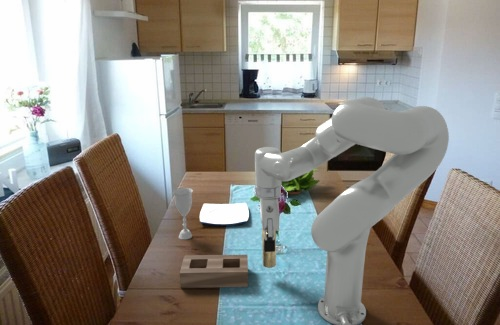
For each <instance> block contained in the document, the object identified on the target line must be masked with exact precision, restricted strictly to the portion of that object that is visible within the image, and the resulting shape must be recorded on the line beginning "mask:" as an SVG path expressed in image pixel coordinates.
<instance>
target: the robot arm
mask: <svg viewBox="0 0 500 325" xmlns="http://www.w3.org/2000/svg"><path fill="white" fill-rule="evenodd" d="M449 138H450V136H449V129H448V125H447V122H446V120H445V118H444V116H443V115H442V113H440V111H438V109H435V108H434V107H431V106H426V105H419V106H418V105H417V106H413V107H411V108H407V109H404V110H401V111H398V110H392V109H386V107H385V105H384V104H383V103H382V102H381V101H380V100H379V99H376V98H374V97H369V96H365V97H364V96H362V97H360V98H355V99H351V100H347V101H344V102H342V103H340V104H339V105H338V106H337V107H336V108H335V109H334V111H333V113H332V115H331V117H330V118H328V119H327V120H326V121H324V122H323V123H321V124H320V125H318V126H317V128H316V130H315V136H314V137H313V138H311V139H310V140H309V141H307V142H306V143H304V144H302V145H301V146H299V147H296V148H294V149H290V150H288V151H285V152H281V150H280V149H279V148H277V147H275V146H274V147H273V146H263V147H260V148H257V149H256V150H255V152H254V179H255V180H254V184H255V186H254V187H255V191H254V192H255V198H256V197H257V199H259V210H260V212H259V213H260V220H261V227H262V228H263V231H265V239H264V251H265V252H275V239H274V229H275V231H277V232H279V231H280V207H279V206H280V204H279V198H280V197H281V196H282V193H281V181H290V180H292V179H294V178H297V177H298V176H301V175H303V174H306V173H308V172H310V171H312V170H314V169H315V168H316V169H318V167H320V166H322V165H324V164H326V162H329V161H331V159H333V158H337V156H339V155H340V154H342V153H344V152H345V151H347V150H348V149H350V148H351V147H354V146H355V145H357V146H359V145H360V146H362V147H365V148H370V149H373V150H378V151H382V152H385V153H388V154H393V155H392V156H391V157H390V158H389V159H387V160H386V161H385V163H384V164H382V165H381V166H380V167H379V168H378V169H377V170H376V171H374V172H373V173H371V175H369V176H367V177H365V178H364V179H361V180H359V181H358V182H356V183H354V184H353V185H351V186H349V187H347V188H346V189H345V190H344V191H342V192H341V193H340V194H339V195H338V196H337V197H336V198H335V199H333V201H331V202H330V203H329V204H328V205H327V206H326V207H325V208H324V209H323V210H322V211H320V213H319V214H318V215H316V217H314V219H313V222H312V224H311V228H310V232H311V234H310V235H311V239H312V240H313V242H314V244H315V246H317V247H318V248H319V249H321V250H323V251H324V252H326V260H325V261H326V263H325V264H326V265H325V278H324V279H325V281H324V295H323V297H322V298H320V299H319V300H318V303H317V311H318V313H319V315H320V317H321V318H323V319H324V320H325V321H326V322H328V323H330V324H333V325H360V324H361V323H363V322H364V320H365V319H366V316H367V309H366V307H365V305H364V303H362V293H363V292H362V291H363V283H364V282H363V280H364V270H365V262H366V260H365V259H366V251H367V244H368V239H369V235H370V231H371V228H372V227H373V226H375V225H377V223H379V222H380V221H381V220H383V219H384V218H385V217H386V216H387V215H388V214H389V213H390V212H392V210H393V209H394V208H395V207H396V206H397V205H398V204H400V202H402V201H403V200H404V199H405V198H406V197H408V196H409V195H410V194H411V193H412V192H414V191H415V190H416V189H417V188H418V187H419V186H421V185H422V184H423V183H424V182H425V181H427V179H428V178H430V177H431V175H433V173H434V172H435V171H436V170H437V169H438V167H439V166H440V165H441V163H442V162H443V160H444V158H445V155H446V153H447V150H448V147H449V142H450V141H449V140H450V139H449ZM262 228H261V229H262ZM266 228H268V229H266ZM272 228H273V229H272ZM267 232H268V234H267Z"/></svg>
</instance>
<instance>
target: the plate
mask: <svg viewBox="0 0 500 325" xmlns="http://www.w3.org/2000/svg"><path fill="white" fill-rule="evenodd" d="M249 211H250V210H249V207H248V205H247V203H246V202H241V203H240V202H239V203H238V202H237V203H222V204H221V203H203V204H202V207H201V210H200V212H199V222H200V224H202V225H209V226H219V225H220V227H221V226H223V227H224V226H226V227H227V226H235V225H242V224H243V225H244V224H246V223H247V222H248V220H249V219H250V212H249Z"/></svg>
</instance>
